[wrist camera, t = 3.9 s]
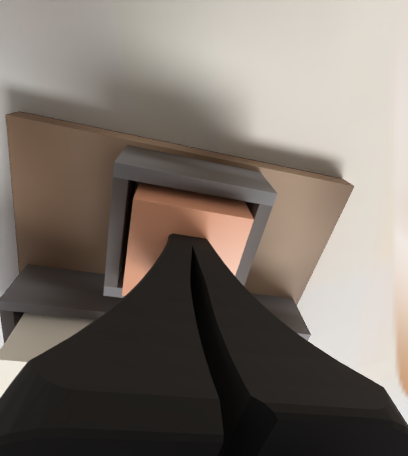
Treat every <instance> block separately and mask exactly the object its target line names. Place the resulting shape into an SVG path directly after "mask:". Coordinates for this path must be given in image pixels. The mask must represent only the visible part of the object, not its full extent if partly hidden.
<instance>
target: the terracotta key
mask: <svg viewBox="0 0 408 456" xmlns="http://www.w3.org/2000/svg"><path fill="white" fill-rule="evenodd" d="M253 221H254V219H253V217H252V215H251V213H250V211H249V208H248V206H247V204H246V202H245V201H241V200H235V199H230V198H224V197H219V196H214V195H208V194H203V193H197V192H192V191H186V190H181V189H175V188H170V187H165V186H159V185H154V184H148V183H143V182H139V185H138V187H137V190H136V193H135V195H134V198H133V205H132V213H131V222H130V230H129V239H128V247H127V256H126V264H125V273H124V281H123V290H122V296H126V295H127V294H128V293H129V292H130V291H131V290H132V289H133V288H134V287H135V286H136V285H137V284H138V283H139V282H140V280H141V279H142V278H143V277H144V276H145V275H146V273H147V272H148V271H149V270H150V268H151V267H152V266H153V265H154V263H155V262H156V260H157V259H158V257H159V256H160V254H161V253H162V251H163V249H164V248H165V246H166V244H167V241H168V236H169V235H170V234H172V233H173V234H180V235H186V236H192V237H199V238H205V239H207V240H208V241H209V243H210V244H211V245H212V247H213V248H214V250H215V251H216V252H217V254H218V255H219V256H220V258H221V259H222V260H223V262H224V263H225V264H226V266H227V267H228V268H229V269H230V271H231V272H232V273H233V274H234V276H235V275H236V272H237V269H238V266H239V263H240V260H241V257H242V254H243V251H244V248H245V245H246V242H247V239H248V236H249V233H250V230H251V227H252V224H253Z"/></svg>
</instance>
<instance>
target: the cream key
mask: <svg viewBox="0 0 408 456" xmlns="http://www.w3.org/2000/svg"><path fill="white" fill-rule="evenodd" d="M93 321H94V320H91V319H82V318H72V317H63V316H53V315H44V314H34V313H24V314H23V316H22V317H21V319H20V320H19V322H18V323H17V325H16V327H15V328H14V330H13V331H12V333H11V334H10V336H9V337H8V339H7V340H6V342H5V343H4V345H3V347H2V348H1V350H0V398H1V396H2V395H3V393H4V392H5V391H6V389H7V388H8V386H9V385H10V384H11V382H12V381H13V380H14V378H15V377H16V376H17V375H18V373H19V372H20V371H21V369H22V368H23V367H24V366H25V365H26V363H27V362H28V361H29V360H31V359H33V358H35V357H37V356H38V355H40V354H42V353H43V352H45V351H47V350H49V349H50V348H52V347H54V346H56V345H57V344H59V343H61V342H62V341H64V340H66V339H68V338H69V337H71V336H72V335H74V334H76V333H77V332H79V331H80V330H82V329H83V328H84V327H86V326H87V325H89V324H90V323H91V322H93Z"/></svg>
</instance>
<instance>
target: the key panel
mask: <svg viewBox="0 0 408 456" xmlns="http://www.w3.org/2000/svg"><path fill="white" fill-rule="evenodd" d="M6 124H7V136H8V147H9V159H10V170H11V182H12V193H13V205H14V216H15V228H16V240H17V251H18V263H19V275H18V277H17V278H16V279H15V280H14V282H13V283H12V284H11V285H10V287H9V288H8V289H7V291H6V292H5V293H4V294H3V296H2V297H1V298H0V316H1V323H2V331H3V338H4V343H5V342H6V340H7V339H8V337H9V336H10V334H11V333H12V331H13V330H14V328H15V327H16V325H17V323H18V322H19V320H20V319H21V317H22V316H23V314H24V313H34V314H44V315H53V316H63V317H72V318H82V319H91V320H96V319H97V318H99V317H100V316H101V315H103V314H104V313H105V312H107V311H108V310H109V309H110V308H112V307H113V306H114V305H115V304H116V303H118V302H119V301H120V300H121V299H122V298H123V297H124V296H122V290H123V281H124V273H125V264H126V256H127V247H128V239H129V230H130V222H131V213H132V205H133V198H134V195H135V193H136V190H137V187H138V185H139V182H143V183H148V184H154V185H159V186H165V187H170V188H175V189H181V190H186V191H192V192H197V193H203V194H208V195H214V196H219V197H224V198H230V199H235V200H241V201H245V202H246V204H247V206H248V208H249V211H250V213H251V215H252V217H253V219H254V221H253V224H252V227H251V230H250V233H249V236H248V239H247V242H246V245H245V248H244V251H243V254H242V257H241V260H240V263H239V266H238V269H237V272H236V275H235V277H236V278H237V279H238V280H239V281H240V282H241V283H242V285H243V286H244V287H245V288H246V289H247V290H248V291H249V292H250V293H251V294H252V295H253V296H254V297H255V298H256V299H257V300H258V301H259V302H260V303H261V304H262V305H263V306H264V307H265V308H267V309H268V310H269V311H270V312H271V313H272V314H273V315H275V316H276V317H277V318H278V319H279V320H280V321H282V322H283V323H284V324H286V325H287V326H288V327H289V328H291V329H292V330H293V331H295V332H296V333H297V334H299V335H300V336H301V337H303V338H304V339H306V340H307V341H308V339H309V337H310V335H311V334H310V332H309V330H308V328H307V326H306V324H305V322H304V320H303V318H302V316H301V314H300V312H299V310H298V308H297V304H298V302H299V300H300V298H301V296H302V294H303V292H304V289H305V287H306V285H307V283H308V281H309V279H310V277H311V275H312V273H313V271H314V269H315V267H316V265H317V263H318V260H319V258H320V256H321V254H322V252H323V250H324V248H325V246H326V244H327V242H328V240H329V238H330V236H331V234H332V232H333V229H334V227H335V225H336V223H337V221H338V219H339V217H340V215H341V213H342V211H343V209H344V207H345V205H346V203H347V200H348V198H349V196H350V194H351V192H352V190H353V188H354V186H353V185H351V184H350V183H348V182H347V181H345V180H344V179H340V178H335V177H331V176H326V175H321V174H316V173H311V172H307V171H302V170H297V169H292V168H287V167H283V166H278V165H273V164H268V163H264V162H259V161H254V160H249V159H244V158H240V157H235V156H230V155H225V154H220V153H216V152H211V151H206V150H201V149H196V148H192V147H187V146H182V145H177V144H172V143H168V142H163V141H158V140H153V139H149V138H144V137H139V136H134V135H129V134H125V133H120V132H115V131H110V130H105V129H101V128H96V127H91V126H86V125H81V124H77V123H72V122H67V121H62V120H57V119H53V118H48V117H43V116H38V115H33V114H29V113H24V112H15V113H11V114H7V115H6Z"/></svg>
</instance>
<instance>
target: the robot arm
mask: <svg viewBox="0 0 408 456" xmlns="http://www.w3.org/2000/svg"><path fill="white" fill-rule="evenodd" d="M0 456H408V425H407V423H406V421H405V420H404V418H403V417H402V415H401V414H400V412H399V411H398V409H397V407H396V406H395V404H394V403H393V401H392V400H391V398H390V396H389V395H388V393H387V392H386V390H385V389H384V387H382V386H380V385H379V384H377V383H375V382H373V381H372V380H370V379H368V378H366V377H365V376H363V375H361V374H359V373H358V372H356V371H354V370H352V369H351V368H349V367H347V366H346V365H344V364H342V363H340V362H339V361H337V360H335V359H334V358H332V357H331V356H329V355H328V354H326V353H325V352H323V351H322V350H320V349H319V348H317V347H316V346H314V345H313V344H311V343H310V342H308V341H307V340H306V339H304V338H303V337H301V336H300V335H299V334H297V333H296V332H295V331H293V330H292V329H291V328H289V327H288V326H287V325H286V324H284V323H283V322H282V321H280V320H279V319H278V318H277V317H276V316H275V315H273V314H272V313H271V312H270V311H269V310H268V309H267V308H265V307H264V306H263V305H262V304H261V303H260V302H259V301H258V300H257V299H256V298H255V297H254V296H253V295H252V294H251V293H250V292H249V291H248V290H247V289H246V288H245V287H244V286H243V285H242V283H241V282H240V281H239V280H238V279H237V278H236V277H235V276H234V274H233V273H232V272H231V271H230V269H229V268H228V267H227V266H226V264H225V263H224V262H223V260H222V259H221V258H220V256H219V255H218V254H217V252H216V251H215V250H214V248H213V247H212V245H211V244H210V243H209V241H208V240H207V239H205V238H199V237H192V236H186V235H180V234H173V233H172V234H170V235H169V236H168V241H167V244H166V246H165V248H164V249H163V251H162V253H161V254H160V256H159V257H158V259H157V260H156V262H155V263H154V265H153V266H152V267H151V268H150V270H149V271H148V272H147V273H146V275H145V276H144V277H143V278H142V279H141V280H140V282H139V283H138V284H137V285H136V286H135V287H134V288H133V289H132V290H131V291H130V292H129V293H128V294H127V295H126V296H124V297H123V298H122V299H121V300H120V301H119V302H118V303H116V304H115V305H114V306H113V307H112V308H110V309H109V310H108V311H107V312H105V313H104V314H103V315H101V316H100V317H99V318H97V319H96V320H94V321H93V322H91V323H90V324H89V325H87V326H86V327H84V328H83V329H82V330H80V331H79V332H77V333H76V334H74V335H72V336H71V337H69V338H68V339H66V340H64V341H62V342H61V343H59V344H57V345H56V346H54V347H52V348H50V349H49V350H47V351H45V352H43V353H42V354H40V355H38V356H37V357H35V358H33V359H31V360H29V361H28V362H27V363H26V365H25V366H24V367H23V368H22V369H21V371H20V372H19V373H18V375H17V376H16V377H15V378H14V380H13V381H12V382H11V384H10V385H9V386H8V388H7V389H6V391H5V392H4V393H3V395H2V396H1V398H0Z"/></svg>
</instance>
